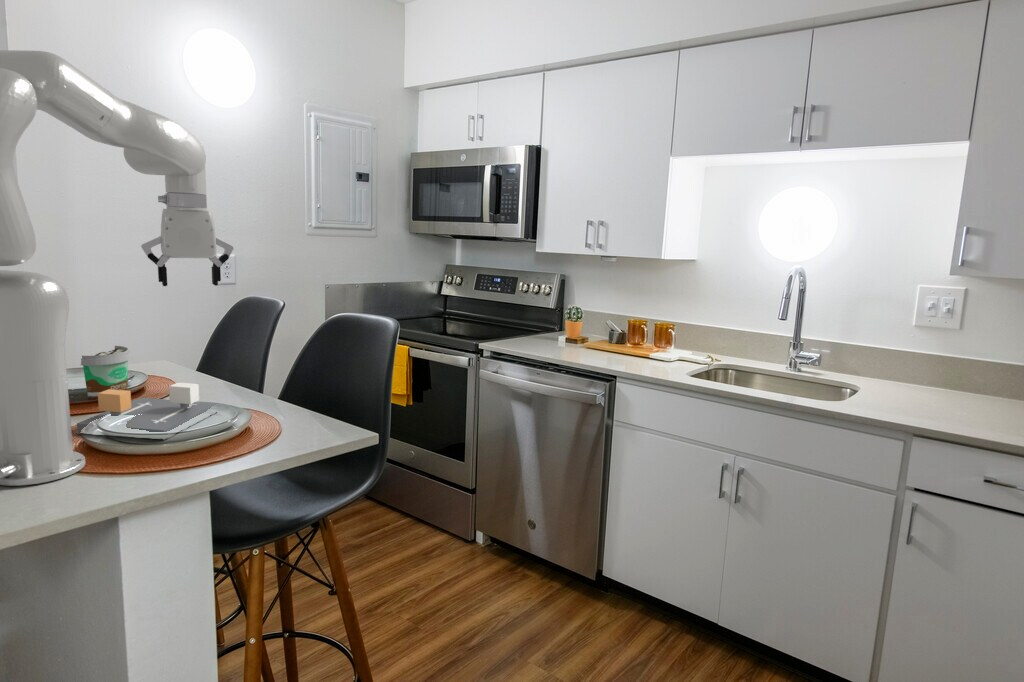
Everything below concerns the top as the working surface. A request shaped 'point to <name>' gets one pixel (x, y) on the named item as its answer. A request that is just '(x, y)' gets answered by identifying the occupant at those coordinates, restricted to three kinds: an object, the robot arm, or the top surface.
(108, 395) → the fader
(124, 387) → the food container
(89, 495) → the top surface
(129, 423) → the panel
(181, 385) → the fader
